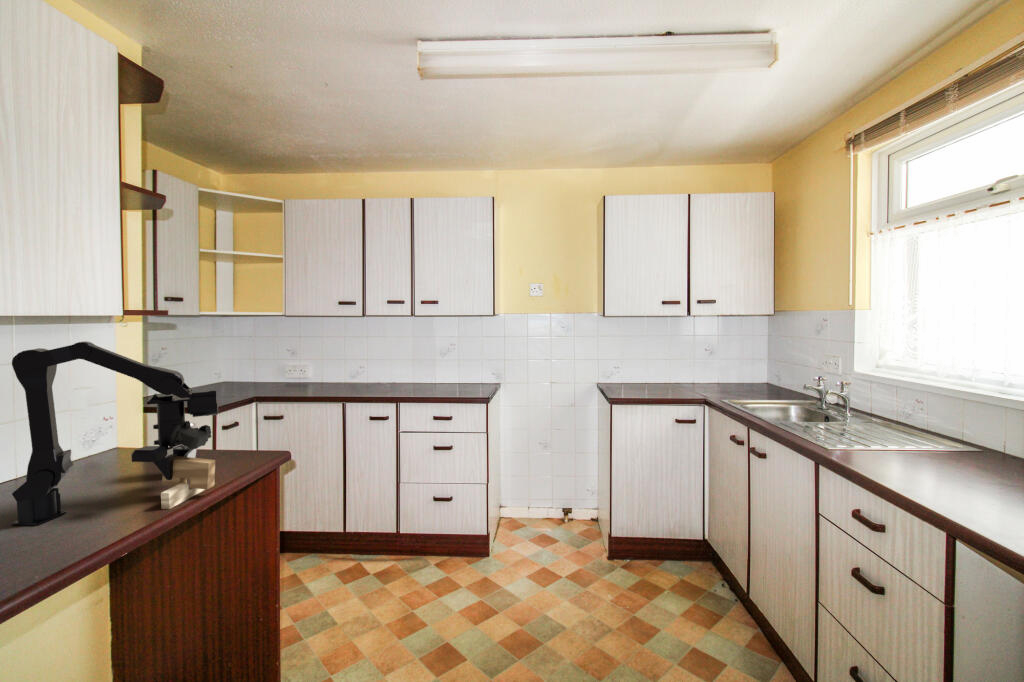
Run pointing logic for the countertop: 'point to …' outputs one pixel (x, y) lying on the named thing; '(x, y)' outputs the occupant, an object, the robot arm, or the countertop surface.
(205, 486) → the tan block
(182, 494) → the birch rail
